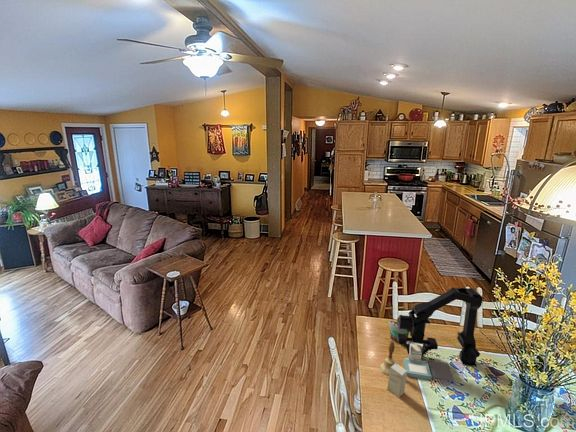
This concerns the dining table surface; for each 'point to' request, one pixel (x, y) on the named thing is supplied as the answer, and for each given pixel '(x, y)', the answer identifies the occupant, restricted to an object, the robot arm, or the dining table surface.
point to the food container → (396, 331)
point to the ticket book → (417, 368)
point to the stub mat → (441, 370)
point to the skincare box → (397, 379)
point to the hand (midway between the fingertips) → (414, 355)
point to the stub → (415, 352)
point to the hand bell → (388, 360)
